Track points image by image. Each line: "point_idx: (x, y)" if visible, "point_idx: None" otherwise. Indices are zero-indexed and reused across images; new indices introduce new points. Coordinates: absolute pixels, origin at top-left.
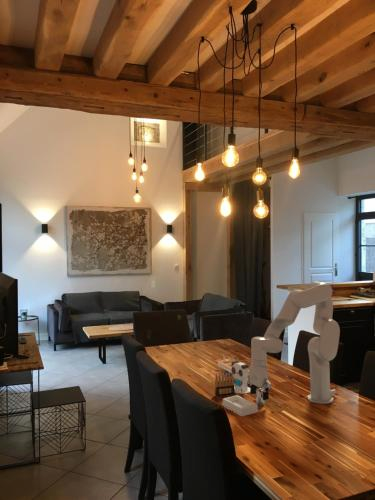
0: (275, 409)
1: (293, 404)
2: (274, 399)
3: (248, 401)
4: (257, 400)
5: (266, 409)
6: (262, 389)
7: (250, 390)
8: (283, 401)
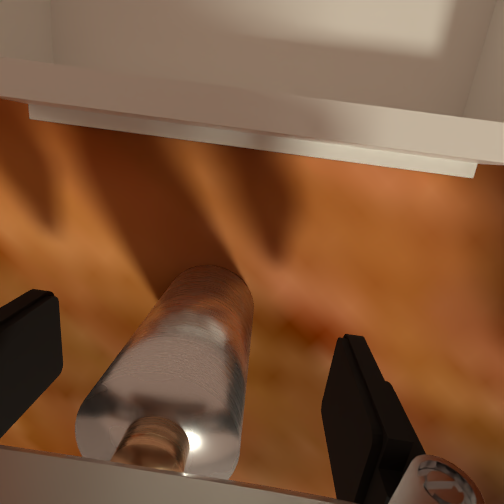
0: None
1: None
2: None
3: (169, 85)
4: (196, 287)
5: (62, 248)
6: None
7: (376, 369)
8: None
